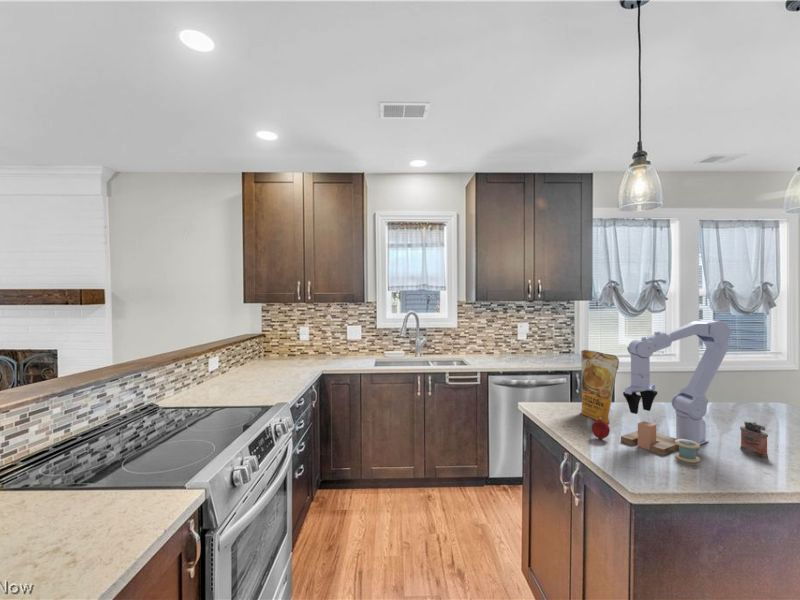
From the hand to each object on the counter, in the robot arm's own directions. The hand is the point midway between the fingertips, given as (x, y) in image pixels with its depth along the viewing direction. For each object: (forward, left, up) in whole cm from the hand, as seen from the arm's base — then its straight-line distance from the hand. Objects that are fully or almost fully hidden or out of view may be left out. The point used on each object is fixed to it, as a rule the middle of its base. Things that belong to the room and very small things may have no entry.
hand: (640, 411), depth 138 cm
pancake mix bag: (-11, -24, -11) cm, 28 cm away
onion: (+11, -8, -11) cm, 17 cm away
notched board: (0, +4, -10) cm, 11 cm away
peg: (+4, +4, -10) cm, 12 cm away
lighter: (-20, +25, -11) cm, 34 cm away
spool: (+3, +16, -10) cm, 19 cm away
